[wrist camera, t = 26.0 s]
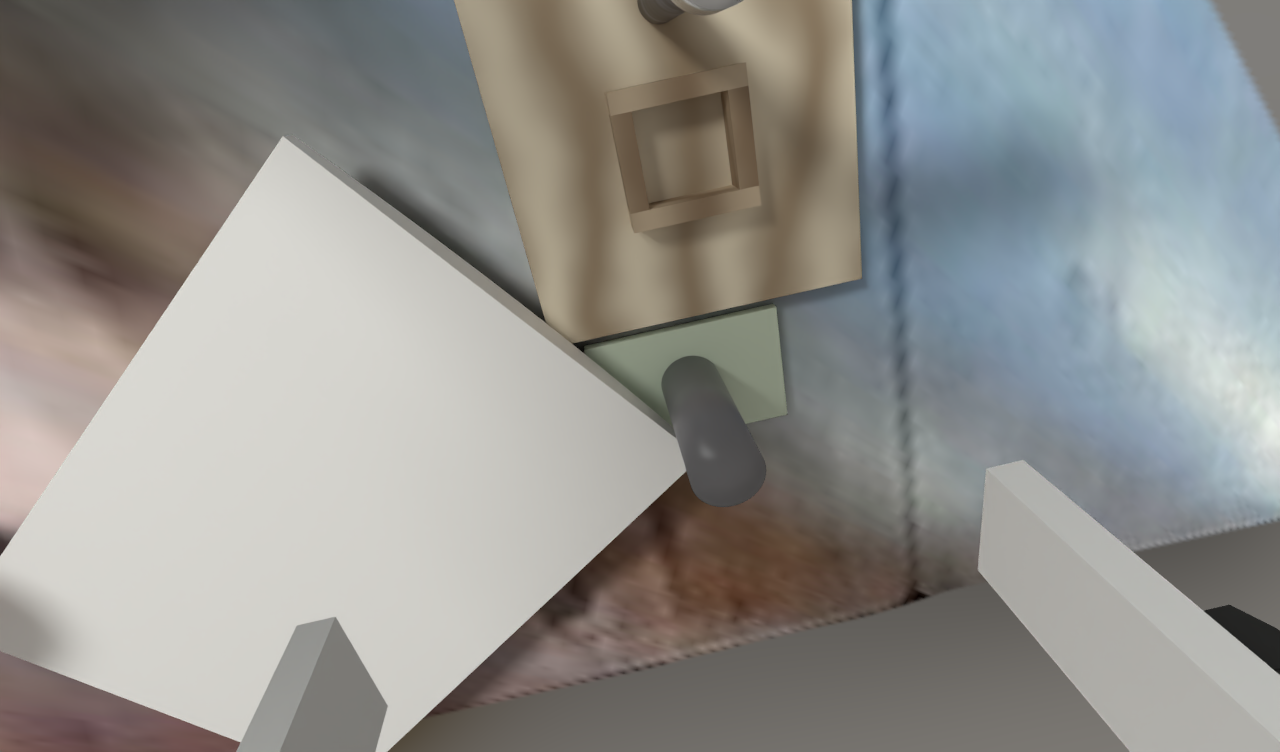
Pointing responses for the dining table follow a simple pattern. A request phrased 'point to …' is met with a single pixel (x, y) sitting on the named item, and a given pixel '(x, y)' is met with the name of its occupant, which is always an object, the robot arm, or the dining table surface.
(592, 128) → the socket plate
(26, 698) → the dining table surface
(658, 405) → the pad
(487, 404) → the board
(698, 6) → the latch
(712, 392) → the peg
